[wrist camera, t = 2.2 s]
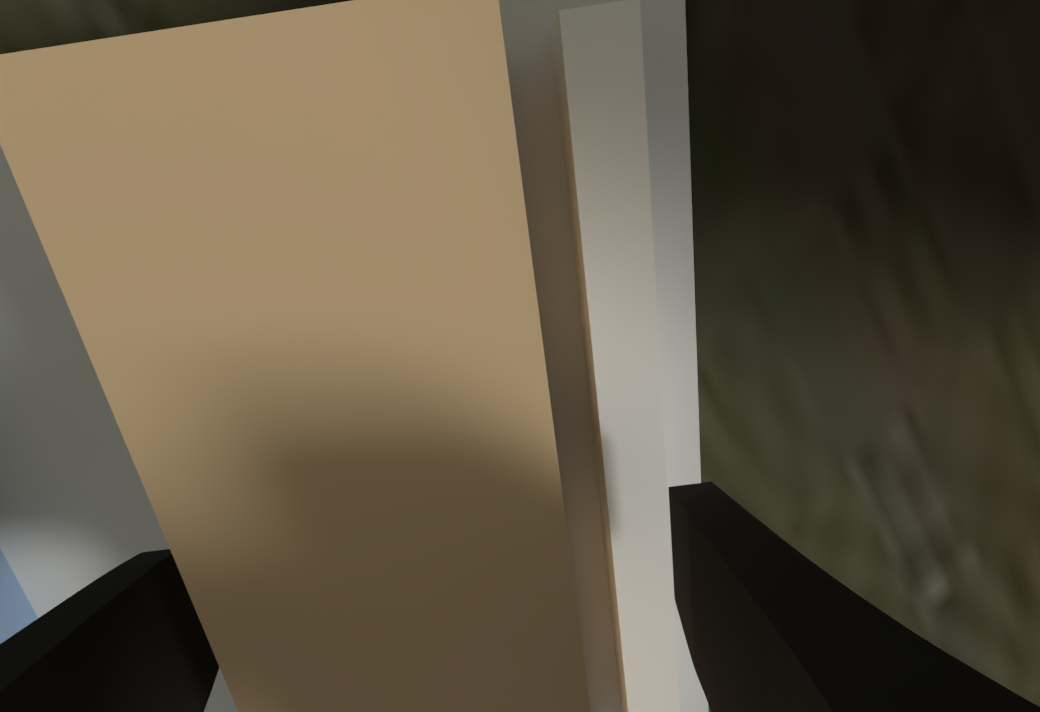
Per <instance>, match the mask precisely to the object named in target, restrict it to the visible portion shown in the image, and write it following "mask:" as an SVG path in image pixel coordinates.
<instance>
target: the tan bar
mask: <svg viewBox="0 0 1040 712" xmlns="http://www.w3.org/2000/svg"><path fill="white" fill-rule="evenodd" d="M0 145H1V147H2V150H3V152H4V155H5V157H6V159H7V162H8V164H9V166H10V169H11V171H12V174H13V176H14V178H15V181H16V183H17V186H18V188H19V190H20V193H21V195H22V197H23V200H24V202H25V205H26V207H27V209H28V212H29V214H30V217H31V219H32V221H33V224H34V226H35V228H36V231H37V233H38V236H39V238H40V240H41V243H42V245H43V248H44V250H45V252H46V255H47V257H48V259H49V262H50V264H51V267H52V269H53V271H54V274H55V276H56V279H57V281H58V283H59V286H60V288H61V290H62V293H63V295H64V298H65V300H66V302H67V305H68V307H69V310H70V312H71V314H72V317H73V319H74V321H75V324H76V326H77V329H78V331H79V333H80V336H81V338H82V341H83V343H84V345H85V348H86V350H87V352H88V355H89V357H90V360H91V362H92V364H93V367H94V369H95V372H96V374H97V376H98V379H99V381H100V383H101V386H102V388H103V391H104V393H105V395H106V398H107V400H108V403H109V405H110V407H111V410H112V412H113V414H114V417H115V419H116V422H117V424H118V426H119V429H120V431H121V434H122V436H123V438H124V441H125V443H126V445H127V448H128V450H129V453H130V455H131V457H132V460H133V462H134V465H135V467H136V469H137V472H138V474H139V476H140V479H141V481H142V484H143V486H144V488H145V491H146V493H147V496H148V498H149V500H150V503H151V505H152V507H153V510H154V512H155V515H156V517H157V519H158V522H159V524H160V527H161V529H162V531H163V534H164V536H165V538H166V541H167V543H168V546H169V548H170V550H171V553H172V555H173V558H174V560H175V562H176V565H177V567H178V569H179V572H180V574H181V577H182V579H183V581H184V584H185V586H186V589H187V591H188V593H189V596H190V598H191V600H192V603H193V605H194V608H195V610H196V612H197V615H198V617H199V620H200V622H201V624H202V627H203V629H204V631H205V634H206V636H207V639H208V641H209V643H210V646H211V648H212V651H213V653H214V655H215V658H216V660H217V662H218V665H219V667H220V670H221V672H222V674H223V677H224V679H225V682H226V684H227V686H228V689H229V691H230V693H231V696H232V698H233V701H234V703H235V705H236V708H237V710H238V712H591V711H590V703H589V695H588V688H587V680H586V672H585V664H584V657H583V649H582V641H581V633H580V626H579V618H578V610H577V603H576V595H575V587H574V579H573V572H572V564H571V556H570V548H569V541H568V533H567V525H566V517H565V510H564V502H563V494H562V487H561V479H560V471H559V463H558V456H557V448H556V440H555V432H554V425H553V417H552V409H551V402H550V394H549V386H548V378H547V371H546V363H545V355H544V347H543V340H542V332H541V324H540V317H539V309H538V301H537V293H536V286H535V278H534V270H533V262H532V255H531V247H530V239H529V232H528V224H527V216H526V208H525V201H524V193H523V185H522V177H521V170H520V162H519V154H518V147H517V139H516V131H515V123H514V116H513V108H512V100H511V92H510V85H509V77H508V69H507V62H506V54H505V46H504V38H503V31H502V23H501V15H500V7H499V0H352V1H345V2H339V3H332V4H326V5H319V6H313V7H306V8H300V9H293V10H287V11H280V12H274V13H267V14H261V15H254V16H248V17H241V18H235V19H228V20H222V21H215V22H209V23H202V24H196V25H189V26H183V27H176V28H170V29H163V30H157V31H150V32H144V33H137V34H130V35H124V36H117V37H111V38H104V39H98V40H91V41H85V42H78V43H72V44H65V45H59V46H52V47H46V48H39V49H33V50H26V51H20V52H13V53H7V54H0Z"/></svg>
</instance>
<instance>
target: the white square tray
mask: <svg viewBox="0 0 1040 712" xmlns="http://www.w3.org/2000/svg"><path fill="white" fill-rule="evenodd" d="M499 7H500V15H501V23H502V31H503V38H504V46H505V54H506V62H507V69H508V77H509V85H510V92H511V100H512V108H513V116H514V123H515V131H516V139H517V147H518V154H519V162H520V170H521V177H522V185H523V193H524V201H525V208H526V216H527V224H528V232H529V239H530V247H531V255H532V262H533V270H534V278H535V286H536V293H537V301H538V309H539V317H540V324H541V332H542V340H543V347H544V355H545V363H546V371H547V378H548V386H549V394H550V402H551V409H552V417H553V425H554V432H555V440H556V448H557V456H558V463H559V471H560V479H561V487H562V494H563V502H564V510H565V517H566V525H567V533H568V541H569V548H570V556H571V564H572V572H573V579H574V587H575V595H576V603H577V610H578V618H579V626H580V633H581V641H582V649H583V657H584V664H585V672H586V680H587V688H588V695H589V703H590V711H591V712H708V701H707V699H706V696H705V694H704V691H703V689H702V686H701V684H700V681H699V679H698V676H697V674H696V671H695V669H694V666H693V662H692V659H691V655H690V652H689V648H688V645H687V641H686V638H685V635H684V631H683V627H682V624H681V620H680V616H679V613H678V609H677V606H676V602H675V597H674V579H673V560H672V542H671V524H670V505H669V487H673V486H681V485H689V484H697V483H701V471H700V440H699V409H698V379H697V348H696V317H695V287H694V256H693V225H692V194H691V164H690V133H689V102H688V71H687V41H686V10H685V0H499ZM165 549H170V548H169V546H168V543H167V541H166V538H165V536H164V534H163V531H162V529H161V527H160V524H159V522H158V519H157V517H156V515H155V512H154V510H153V507H152V505H151V503H150V500H149V498H148V496H147V493H146V491H145V488H144V486H143V484H142V481H141V479H140V476H139V474H138V472H137V469H136V467H135V465H134V462H133V460H132V457H131V455H130V453H129V450H128V448H127V445H126V443H125V441H124V438H123V436H122V434H121V431H120V429H119V426H118V424H117V422H116V419H115V417H114V414H113V412H112V410H111V407H110V405H109V403H108V400H107V398H106V395H105V393H104V391H103V388H102V386H101V383H100V381H99V379H98V376H97V374H96V372H95V369H94V367H93V364H92V362H91V360H90V357H89V355H88V352H87V350H86V348H85V345H84V343H83V341H82V338H81V336H80V333H79V331H78V329H77V326H76V324H75V321H74V319H73V317H72V314H71V312H70V310H69V307H68V305H67V302H66V300H65V298H64V295H63V293H62V290H61V288H60V286H59V283H58V281H57V279H56V276H55V274H54V271H53V269H52V267H51V264H50V262H49V259H48V257H47V255H46V252H45V250H44V248H43V245H42V243H41V240H40V238H39V236H38V233H37V231H36V228H35V226H34V224H33V221H32V219H31V217H30V214H29V212H28V209H27V207H26V205H25V202H24V200H23V197H22V195H21V193H20V190H19V188H18V186H17V183H16V181H15V178H14V176H13V174H12V171H11V169H10V166H9V164H8V162H7V159H6V157H5V155H4V152H3V150H2V147H1V145H0V644H1V643H2V642H4V641H5V640H7V639H8V638H10V637H11V636H13V635H14V634H16V633H17V632H19V631H20V630H22V629H23V628H25V627H26V626H28V625H29V624H31V623H32V622H34V621H35V620H36V619H38V618H39V617H41V616H42V615H44V614H45V613H47V612H48V611H50V610H51V609H53V608H54V607H56V606H57V605H59V604H60V603H62V602H63V601H65V600H66V599H68V598H69V597H71V596H72V595H74V594H75V593H77V592H78V591H80V590H81V589H83V588H84V587H86V586H87V585H89V584H90V583H92V582H93V581H95V580H96V579H98V578H99V577H101V576H103V575H104V574H106V573H107V572H109V571H110V570H112V569H114V568H115V567H117V566H119V565H120V564H122V563H124V562H125V561H127V560H129V559H131V558H133V557H134V556H136V555H138V554H140V553H141V552H149V551H157V550H165ZM204 712H238V710H237V708H236V705H235V703H234V701H233V698H232V696H231V693H230V691H229V689H228V686H227V684H226V682H225V679H224V677H223V674H222V672H221V670H220V667H219V670H218V673H217V676H216V679H215V682H214V685H213V688H212V691H211V694H210V696H209V699H208V702H207V704H206V707H205V710H204Z"/></svg>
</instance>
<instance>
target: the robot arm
mask: <svg viewBox="0 0 1040 712" xmlns="http://www.w3.org/2000/svg"><path fill="white" fill-rule="evenodd" d="M669 505H670V524H671V542H672V560H673V579H674V597H675V602H676V606H677V609H678V613H679V616H680V620H681V624H682V627H683V631H684V635H685V638H686V641H687V645H688V648H689V652H690V655H691V659H692V662H693V666H694V669H695V671H696V674H697V676H698V679H699V681H700V684H701V686H702V689H703V691H704V694H705V696H706V699H707V701H708V704H709V706H710V709H711V711H712V712H1040V707H1039V706H1037V705H1035V704H1033V703H1031V702H1030V701H1028V700H1026V699H1024V698H1022V697H1021V696H1019V695H1017V694H1015V693H1014V692H1012V691H1010V690H1009V689H1007V688H1005V687H1003V686H1002V685H1000V684H998V683H997V682H995V681H993V680H992V679H990V678H988V677H986V676H985V675H983V674H981V673H980V672H978V671H976V670H975V669H973V668H971V667H970V666H968V665H966V664H964V663H963V662H961V661H959V660H958V659H956V658H954V657H953V656H951V655H949V654H947V653H946V652H944V651H942V650H941V649H939V648H938V647H936V646H935V645H933V644H931V643H930V642H928V641H927V640H925V639H923V638H922V637H920V636H919V635H917V634H915V633H914V632H912V631H911V630H909V629H908V628H906V627H905V626H903V625H902V624H900V623H899V622H897V621H896V620H894V619H893V618H891V617H890V616H888V615H887V614H885V613H884V612H882V611H881V610H879V609H878V608H876V607H875V606H873V605H872V604H870V603H869V602H867V601H866V600H864V599H863V598H862V597H860V596H859V595H857V594H856V593H854V592H853V591H851V590H850V589H849V588H847V587H846V586H844V585H843V584H842V583H840V582H839V581H837V580H836V579H835V578H833V577H832V576H830V575H829V574H828V573H826V572H825V571H824V570H822V569H821V568H820V567H818V566H817V565H816V564H814V563H813V562H812V561H810V560H809V559H808V558H806V557H805V556H804V555H802V554H801V553H800V552H798V551H797V550H796V549H795V548H793V547H792V546H791V545H789V544H788V543H787V542H786V541H784V540H783V539H782V538H780V537H779V536H778V535H777V534H775V533H774V532H773V531H772V530H770V529H769V528H768V527H767V526H765V525H764V524H763V523H762V522H760V521H759V520H758V519H757V518H755V517H754V516H753V515H752V514H751V513H749V512H748V511H747V510H746V509H744V508H743V507H742V506H741V505H739V504H738V503H737V502H736V501H735V500H733V499H732V498H731V497H730V496H728V495H727V494H726V493H725V492H723V491H722V490H721V489H720V488H718V487H717V486H716V485H715V484H713V483H712V482H705V483H697V484H689V485H681V486H673V487H669ZM218 670H219V665H218V662H217V660H216V658H215V655H214V653H213V651H212V648H211V646H210V643H209V641H208V639H207V636H206V634H205V631H204V629H203V627H202V624H201V622H200V620H199V617H198V615H197V612H196V610H195V608H194V605H193V603H192V600H191V598H190V596H189V593H188V591H187V589H186V586H185V584H184V581H183V579H182V577H181V574H180V572H179V569H178V567H177V565H176V562H175V560H174V558H173V555H172V553H171V550H170V549H165V550H157V551H149V552H141V553H140V554H138V555H136V556H134V557H133V558H131V559H129V560H127V561H125V562H124V563H122V564H120V565H119V566H117V567H115V568H114V569H112V570H110V571H109V572H107V573H106V574H104V575H103V576H101V577H99V578H98V579H96V580H95V581H93V582H92V583H90V584H89V585H87V586H86V587H84V588H83V589H81V590H80V591H78V592H77V593H75V594H74V595H72V596H71V597H69V598H68V599H66V600H65V601H63V602H62V603H60V604H59V605H57V606H56V607H54V608H53V609H51V610H50V611H48V612H47V613H45V614H44V615H42V616H41V617H39V618H38V619H36V620H35V621H34V622H32V623H31V624H29V625H28V626H26V627H25V628H23V629H22V630H20V631H19V632H17V633H16V634H14V635H13V636H11V637H10V638H8V639H7V640H5V641H4V642H2V643H1V644H0V712H204V710H205V707H206V704H207V702H208V699H209V696H210V694H211V691H212V688H213V685H214V682H215V679H216V676H217V673H218Z"/></svg>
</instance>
